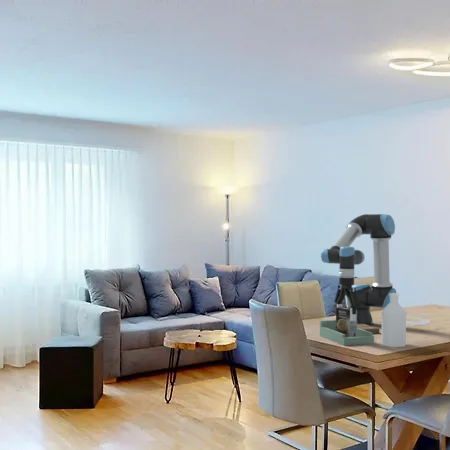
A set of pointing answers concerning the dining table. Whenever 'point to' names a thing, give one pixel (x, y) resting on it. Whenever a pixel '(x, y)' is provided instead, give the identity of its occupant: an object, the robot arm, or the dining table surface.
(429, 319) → the dining table surface
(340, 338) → the frame
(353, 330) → the coffee box
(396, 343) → the bottle
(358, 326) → the board
